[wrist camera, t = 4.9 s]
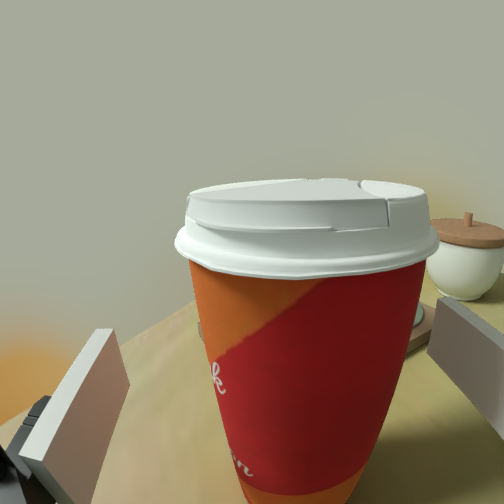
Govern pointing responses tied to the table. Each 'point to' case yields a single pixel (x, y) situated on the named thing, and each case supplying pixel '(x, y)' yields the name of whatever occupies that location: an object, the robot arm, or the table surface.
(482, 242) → the lidded jar
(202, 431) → the table surface
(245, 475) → the paper cup
